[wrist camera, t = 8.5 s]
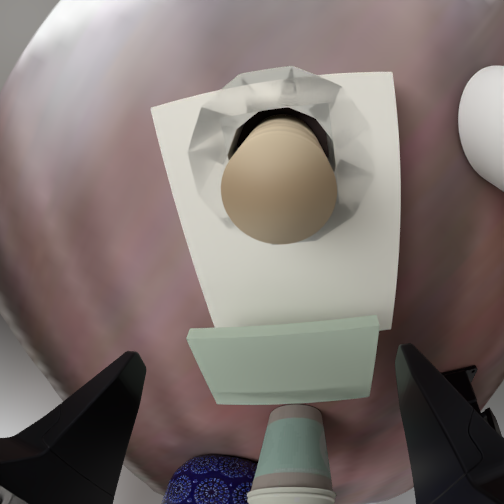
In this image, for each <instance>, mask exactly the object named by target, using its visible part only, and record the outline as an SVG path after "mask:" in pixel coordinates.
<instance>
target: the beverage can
mask: <svg viewBox="0 0 504 504" xmlns="http://www.w3.org/2000/svg"><path fill="white" fill-rule="evenodd" d="M458 127H459V135H460V140H461V144H462V147H463V150H464V153H465V155H466V157H467V159H468V161H469V163H470V164H471V166H472V167H473V168H474V170H475V171H476V172H477V173H478V174H479V175H480V176H481V177H483V178H484V179H485V180H487V181H488V182H490V183H491V184H493V185H494V186H496V187H497V188H499V189H500V190H502V191H503V192H504V66H489V67H485V68H483V69H481V70H480V71H478V72H477V73H476V74H474V76H473V77H472V78H471V79H470V80H469V82H468V83H467V85H466V87H465V89H464V91H463V94H462V97H461V100H460V105H459V113H458Z"/></svg>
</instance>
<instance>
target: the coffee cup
mask: <svg viewBox="0 0 504 504" xmlns="http://www.w3.org/2000/svg"><path fill="white" fill-rule="evenodd" d="M247 497H248V499H247V502H248V503H249V504H334V503H335V497H336V494H335V493H334V492H333V490H332V482H331V475H330V467H329V460H328V453H327V447H326V440H325V433H324V427H323V421H322V415H321V413H320V411H319V410H317V409H316V408H314V407H311V406H308V405H301V404H292V405H285V406H281V407H278V408H276V409H275V410H273V411H272V412H271V414H270V417H269V421H268V425H267V429H266V433H265V437H264V441H263V445H262V449H261V453H260V457H259V461H258V465H257V469H256V473H255V477H254V480H253V484H252V488H251V491H250V492H248V493H247Z"/></svg>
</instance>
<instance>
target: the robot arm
mask: <svg viewBox="0 0 504 504" xmlns="http://www.w3.org/2000/svg"><path fill="white" fill-rule="evenodd" d="M395 370H396V378H397V387H398V396H399V406H400V412H401V416H402V421H403V426H404V431H405V436H406V441H407V447H408V452H409V458H410V464H411V470H412V476H413V483H414V490H415V498H416V504H504V438H503V437H502V435H501V432H500V429H499V426H498V423H497V420H496V418H495V416H494V415H493V413H492V411H491V410H490V408H487V409H486V410H485V411H484V412H482V413H481V412H480V409H479V406H478V403H477V401H476V400H477V399H476V396H475V393H474V391H473V388H472V385H471V382H472V380H473V378H474V376H475V374H476V372H477V367H476V366H471V367H467V368H463V369H459V370H455V371H451V372H446V373H442V374H441V373H440V372H439V371H438V370H437V369H436V368H435V367H434V366H433V365H432V364H431V363H430V362H429V361H428V359H427V358H426V357H425V356H424V355H423V354H422V353H421V352H420V351H419V350H418V349H417V348H416V347H415V346H414V345H413V344H411V343H407V344H401V345H399V347H398V351H397V356H396V360H395ZM145 375H146V366H145V364H144V362H143V361H142V359H141V357H140V355H139V354H138V353H137V352H134V351H127V352H125V353H124V354H123V355H121V356H120V357H119V358H118V359H116V360H115V361H114V362H113V363H111V364H110V365H109V366H108V367H106V368H105V369H104V370H103V371H101V372H100V373H99V374H97V375H96V376H95V377H94V378H92V379H91V380H90V381H89V382H87V383H86V384H85V385H84V386H82V387H81V388H80V389H79V390H77V391H76V392H75V393H74V394H72V395H71V396H70V397H69V398H67V399H66V400H65V401H63V402H62V404H60V405H58V406H57V407H56V408H55V409H53V410H52V411H51V412H49V413H48V414H47V415H46V416H44V417H43V418H41V419H40V420H38V421H37V422H35V423H34V424H32V425H31V426H29V427H27V428H26V429H24V430H23V431H21V432H20V433H19V434H17V435H15V436H12V437H9V438H0V504H113V500H114V495H115V491H116V487H117V483H118V480H119V476H120V472H121V469H122V465H123V461H124V458H125V454H126V450H127V447H128V443H129V440H130V436H131V433H132V430H133V426H134V423H135V419H136V416H137V413H138V409H139V405H140V401H141V396H142V390H143V385H144V380H145Z"/></svg>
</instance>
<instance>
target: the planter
mask: <svg viewBox="0 0 504 504" xmlns="http://www.w3.org/2000/svg"><path fill="white" fill-rule="evenodd" d="M257 465H258V464H257V463H255V462H252V461H249V460H246V459H242V458H238V457H232V456H225V455H203V456H198V457H195V458H192V459H190V460H188V461H187V462H185V463H184V464H183V465H182V466H180V467H179V468H178V469H177V471H176V472H175V473H174V474H173V476H172V478H171V480H170V481H169V484H168V486H167V489H166V492H165V494H164V497H163V500H162V503H161V504H249V503H248V502H247V499H248V497H247V493H248V492H250V491H251V488H252V484H253V480H254V477H255V473H256V469H257Z"/></svg>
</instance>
